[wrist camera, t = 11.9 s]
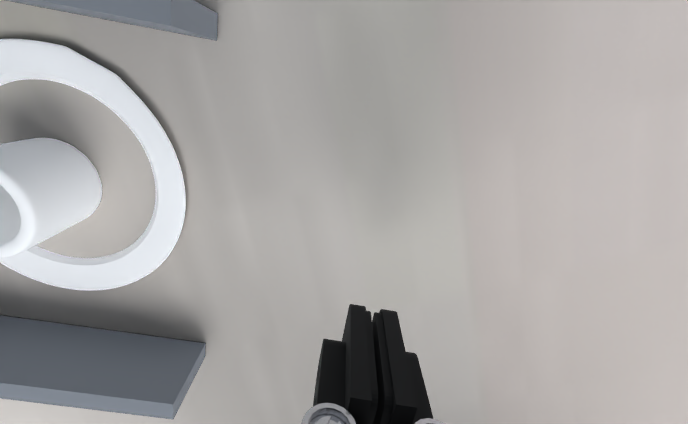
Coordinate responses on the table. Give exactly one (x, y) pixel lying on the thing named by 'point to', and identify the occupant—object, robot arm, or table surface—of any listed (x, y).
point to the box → (98, 344)
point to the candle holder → (79, 179)
